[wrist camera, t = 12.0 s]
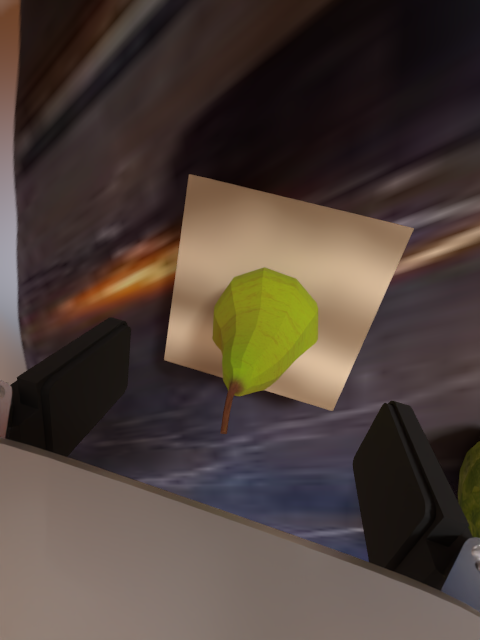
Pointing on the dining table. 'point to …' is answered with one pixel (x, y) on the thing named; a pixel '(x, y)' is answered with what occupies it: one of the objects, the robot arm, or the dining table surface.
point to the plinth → (287, 258)
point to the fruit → (261, 330)
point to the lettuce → (471, 489)
